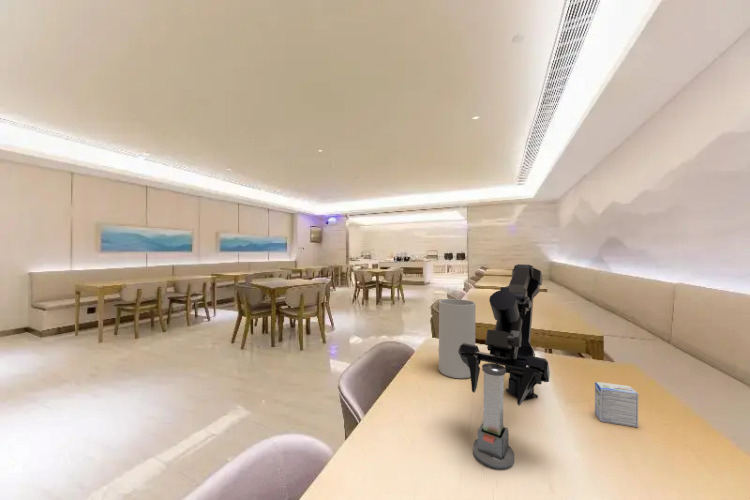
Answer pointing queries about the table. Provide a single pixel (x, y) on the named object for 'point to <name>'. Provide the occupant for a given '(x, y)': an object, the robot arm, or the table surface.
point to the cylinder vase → (455, 335)
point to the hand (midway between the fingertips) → (494, 397)
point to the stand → (493, 449)
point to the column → (493, 397)
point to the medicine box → (616, 404)
